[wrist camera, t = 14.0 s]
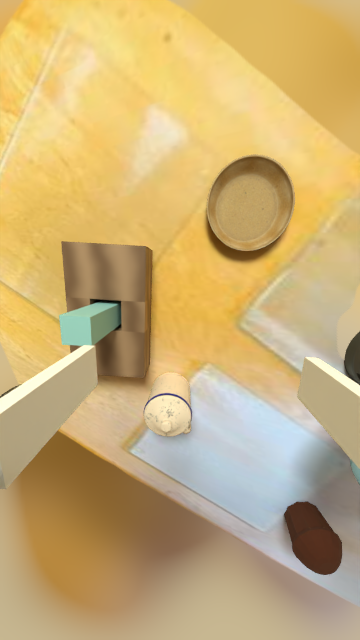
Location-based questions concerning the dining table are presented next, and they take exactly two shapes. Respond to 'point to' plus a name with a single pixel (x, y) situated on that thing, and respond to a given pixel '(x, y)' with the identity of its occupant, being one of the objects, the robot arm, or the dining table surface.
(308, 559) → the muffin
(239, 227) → the plant saucer
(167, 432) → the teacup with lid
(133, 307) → the hole board
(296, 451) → the dining table surface
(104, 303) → the peg
